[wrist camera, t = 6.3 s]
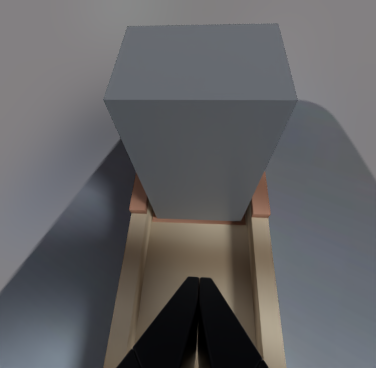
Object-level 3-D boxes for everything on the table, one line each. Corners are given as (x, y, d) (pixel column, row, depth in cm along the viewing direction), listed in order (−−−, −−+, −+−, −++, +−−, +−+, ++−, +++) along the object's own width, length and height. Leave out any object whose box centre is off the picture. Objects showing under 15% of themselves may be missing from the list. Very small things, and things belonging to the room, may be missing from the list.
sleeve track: (284, 476, 11) (376, 654, 5) (102, 457, 12) (8, 600, 6) (252, 164, 20) (275, 104, 14) (149, 162, 20) (130, 104, 15)
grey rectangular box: (240, 221, 15) (298, 100, 6) (157, 218, 16) (103, 99, 7) (237, 170, 17) (278, 23, 8) (163, 168, 17) (127, 25, 9)
